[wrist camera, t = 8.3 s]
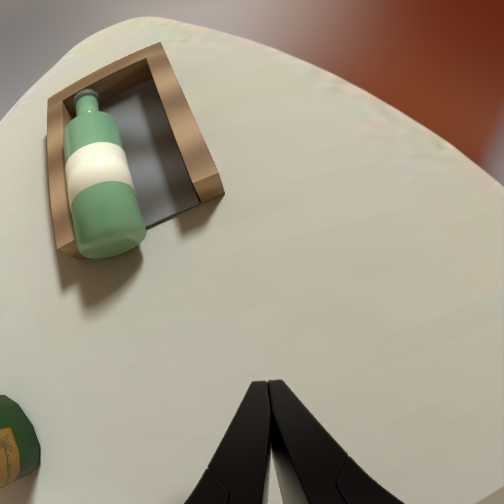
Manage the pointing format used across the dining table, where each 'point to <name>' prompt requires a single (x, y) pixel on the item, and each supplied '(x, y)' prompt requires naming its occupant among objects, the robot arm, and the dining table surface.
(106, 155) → the bottle
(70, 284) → the dining table surface
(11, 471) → the bottle
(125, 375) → the dining table surface
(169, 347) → the dining table surface
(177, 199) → the cradle
